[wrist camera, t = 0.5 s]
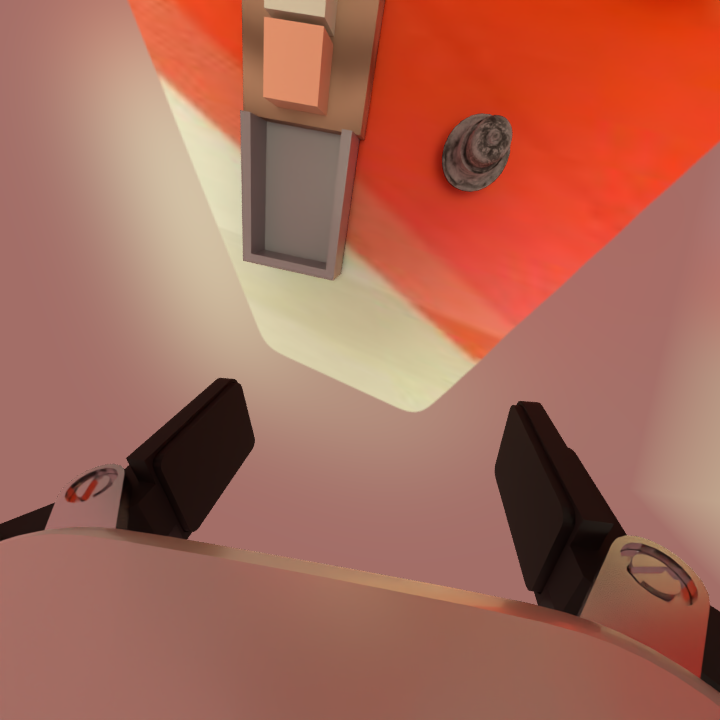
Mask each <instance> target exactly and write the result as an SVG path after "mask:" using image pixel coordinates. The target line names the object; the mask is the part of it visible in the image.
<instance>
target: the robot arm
mask: <svg viewBox="0 0 720 720" xmlns="http://www.w3.org/2000/svg"><path fill="white" fill-rule="evenodd" d="M254 443H255V438H254V434H253V430H252V426H251V422H250V418H249V414H248V410H247V406H246V401H245V398H244V394H243V389H242V386H241V384H239V383H238V382H237V381H236V380H235V379H226V378H219V379H217V380H215V381H214V382H213V383H212V384H211V385H210V386H209V387H207V389H205V390H204V391H203V392H202V393H201V394H199V395H198V396H197V397H196V398H195V399H194V400H193V401H191V402H190V403H189V404H188V405H187V406H186V407H184V408H183V409H182V410H181V411H180V412H179V413H178V414H177V415H175V416H174V417H173V418H172V419H171V420H170V421H168V422H167V423H166V424H165V425H164V426H163V427H161V428H160V429H159V430H158V431H157V432H156V433H155V434H153V435H152V436H151V437H150V438H149V439H148V440H146V441H145V442H144V443H143V444H142V445H141V446H140V447H138V448H137V449H136V450H135V451H134V452H133V453H132V454H130V456H128V457H127V458H126V459H127V461H128V463H129V466H128V467H127V468H126V469H124V468H123V467H122V466H121V465H118V464H105V465H101V466H97V467H95V468H92V469H90V470H87V471H85V472H84V473H82V474H80V475H78V476H77V477H75V478H74V479H73V480H71V481H70V482H69V483H68V484H67V485H66V486H65V487H64V488H63V489H62V490H61V491H60V493H59V495H58V496H57V499H56V502H55V503H53V504H50V505H48V506H45V507H43V508H40V509H37V510H35V511H33V512H30V513H27V514H25V515H22V516H20V517H17V518H14V519H12V520H9V521H7V522H4V523H2V524H0V720H720V612H719V611H718V610H716V609H715V608H714V607H712V606H710V602H709V601H710V600H709V594H708V592H707V590H706V588H705V586H704V584H703V582H702V581H701V579H700V578H699V577H698V576H697V575H696V573H695V572H694V571H693V570H692V569H691V568H690V567H689V566H688V565H687V564H686V563H685V562H684V561H682V560H681V559H680V558H679V557H678V556H676V555H675V554H673V553H672V552H670V551H669V550H667V549H666V548H664V547H663V546H660V545H658V544H656V543H654V542H652V541H650V540H647V539H644V538H641V537H637V536H627V535H626V533H625V531H624V530H623V528H622V527H621V525H620V523H619V522H618V520H617V519H616V517H615V515H614V514H613V512H612V511H611V509H610V507H609V506H608V504H607V503H606V501H605V499H604V498H603V496H602V495H601V493H600V491H599V490H598V488H597V487H596V485H595V484H594V482H593V480H592V479H591V477H590V476H589V474H588V472H587V471H586V469H585V468H584V466H583V464H582V463H581V461H580V460H579V458H578V456H577V455H576V453H575V452H574V451H573V450H572V449H570V448H568V447H567V446H566V444H565V442H564V441H563V439H562V437H561V436H560V434H559V433H558V431H557V429H556V428H555V426H554V425H553V423H552V421H551V420H550V418H549V416H548V415H547V413H546V411H545V410H544V408H543V406H542V405H541V404H540V403H538V402H525V401H519V402H518V403H517V405H512V406H511V408H510V411H509V415H508V418H507V422H506V426H505V430H504V434H503V438H502V441H501V445H500V449H499V453H498V457H497V460H496V464H495V477H496V481H497V484H498V488H499V492H500V495H501V499H502V502H503V506H504V509H505V513H506V516H507V520H508V524H509V527H510V531H511V535H512V538H513V542H514V545H515V549H516V552H517V556H518V559H519V563H520V567H521V570H522V574H523V577H524V581H525V584H526V587H527V588H528V590H529V591H534V593H535V597H536V600H537V603H538V605H534V604H530V603H525V602H521V601H515V600H510V599H505V598H500V597H496V596H491V595H486V594H481V593H476V592H471V591H467V590H462V589H457V588H451V587H446V586H441V585H435V584H430V583H425V582H419V581H413V580H409V579H403V578H398V577H392V576H386V575H382V574H376V573H371V572H365V571H360V570H355V569H349V568H344V567H338V566H332V565H327V564H322V563H315V562H310V561H305V560H299V559H294V558H288V557H282V556H277V555H271V554H266V553H260V552H255V551H248V550H243V549H238V548H232V547H226V546H220V545H215V544H209V543H203V542H197V541H191V540H187V539H188V537H189V536H190V534H191V533H192V532H194V531H196V530H197V529H198V528H199V527H200V525H201V524H202V522H203V521H204V519H205V518H206V516H207V515H208V514H209V512H210V510H211V509H212V508H213V506H214V505H215V503H216V502H217V500H218V499H219V497H220V496H221V494H222V493H223V491H224V490H225V488H226V487H227V485H228V484H229V483H230V481H231V479H232V478H233V477H234V475H235V474H236V472H237V471H238V469H239V468H240V466H241V465H242V463H243V462H244V461H245V459H246V457H247V456H248V455H249V453H250V452H251V450H252V449H253V447H254Z"/></svg>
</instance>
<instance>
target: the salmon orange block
mask: <svg viewBox="0 0 720 720" xmlns="http://www.w3.org/2000/svg"><path fill="white" fill-rule="evenodd" d="M332 55H333V43H332V41H331V39H330V37H329V35H328V33H327V31H326V29H325V27H324V26H320V25H313V24H307V23H301V22H294V21H288V20H282V19H276V18H269V17H264V64H263V97H264V98H265V99H267V100H268V101H270V102H271V103H272V104H274V105H275V106H277V107H280V108H286V109H291V110H297V111H302V112H308V113H313V114H319V115H324V116H327V108H328V98H329V87H330V76H331V65H332Z"/></svg>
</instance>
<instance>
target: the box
mask: <svg viewBox="0 0 720 720" xmlns="http://www.w3.org/2000/svg"><path fill="white" fill-rule="evenodd" d="M240 117H241V170H242V224H243V261H247V262H252V263H256V264H261V265H265V266H270V267H274V268H279V269H283V270H288V271H292V272H297V273H301V274H306V275H310V276H315V277H319V278H324V279H328V280H334V279H335V278H337V277H338V276H339V275H340V274H341V270H342V263H343V256H344V249H345V241H346V234H347V227H348V220H349V213H350V206H351V199H352V191H353V184H354V177H355V170H356V163H357V156H358V149H359V142H360V139H359V138H358V137H357V136H356V134H355V133H354V132H353V131H351V130H345V129H342V132H341V135H338V134H332V133H327V132H322V131H316V130H311V129H305V128H300V127H295V126H289V125H284V124H279V123H273V122H268V121H265V120H264V119H262V118H260V117H258V116H256V115H255V114H253V113H251V112H247V111H242V110H240Z"/></svg>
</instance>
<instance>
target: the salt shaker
mask: <svg viewBox="0 0 720 720" xmlns="http://www.w3.org/2000/svg"><path fill="white" fill-rule="evenodd" d="M511 140H512V127H511V125H510V123H509V121H508V120H507V119H506V118H505V117H503V116H499V115H493V116H492V115H490V114H476V115H472V116H470V117H468V118H466V119H464V120H463V121H461V122H460V123H459V124H458V125H457V126H456V127H455V128H454V129H453V131H452V132H451V133H450V135H449V136H448V139H447V141H446V143H445V145H444V150H443V155H442V166H443V171H444V175H445V177H446V179H447V180H448V182H449V183H450V184H451V185H452V186H454V187H455V188H458V189H460V190H462V191H469V192H471V191H477V190H480V189H483V188H485V187H487V186H488V185H490V184H491V183H492V182H494V181H495V180H496V179H497V178H498V176H499V175H500V174H501V173H502V171H503V169H504V167H505V166H506V164H507V161H508V157H509V154H510V144H511Z"/></svg>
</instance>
